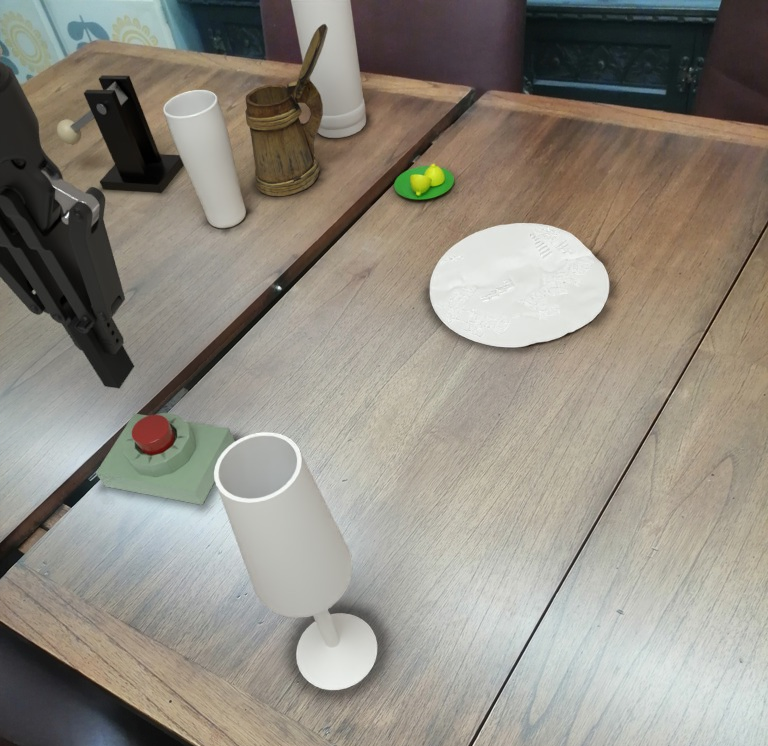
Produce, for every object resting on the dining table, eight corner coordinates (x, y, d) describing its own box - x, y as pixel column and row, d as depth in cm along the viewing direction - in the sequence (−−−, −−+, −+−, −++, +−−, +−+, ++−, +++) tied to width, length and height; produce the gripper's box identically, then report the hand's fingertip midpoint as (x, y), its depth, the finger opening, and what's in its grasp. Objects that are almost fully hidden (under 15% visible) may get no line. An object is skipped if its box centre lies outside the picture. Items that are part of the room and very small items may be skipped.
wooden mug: (351, 186, 95) (327, 39, 80) (255, 200, 96) (214, 57, 81) (349, 153, 100) (326, 8, 85) (257, 166, 101) (219, 26, 86)
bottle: (304, 133, 105) (251, -129, 80) (335, 108, 108) (293, -150, 84) (346, 143, 102) (303, -126, 77) (377, 118, 105) (345, -148, 80)
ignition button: (132, 452, 66) (124, 440, 65) (149, 424, 68) (142, 412, 67) (164, 457, 65) (157, 445, 64) (181, 429, 67) (175, 417, 66)
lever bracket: (102, 189, 102) (59, 98, 92) (128, 160, 107) (90, 69, 96) (161, 192, 100) (124, 99, 90) (185, 162, 104) (152, 70, 94)
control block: (105, 486, 69) (86, 461, 66) (142, 427, 73) (126, 400, 70) (202, 505, 66) (188, 480, 63) (235, 442, 70) (223, 415, 67)
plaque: (486, 215, 87) (486, 204, 85) (638, 261, 79) (641, 250, 78) (396, 315, 79) (395, 305, 78) (555, 377, 71) (556, 367, 70)
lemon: (444, 206, 90) (443, 185, 87) (386, 201, 92) (384, 181, 90) (460, 172, 94) (460, 151, 91) (405, 168, 96) (403, 148, 94)
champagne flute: (387, 674, 54) (334, 495, 35) (305, 701, 54) (204, 535, 34) (365, 602, 58) (305, 404, 39) (288, 627, 58) (188, 439, 38)
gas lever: (66, 152, 102) (48, 132, 100) (77, 140, 104) (60, 120, 102) (121, 110, 94) (103, 88, 92) (132, 99, 95) (114, 76, 93)
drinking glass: (198, 214, 95) (156, 100, 83) (244, 198, 96) (209, 83, 84) (210, 239, 92) (168, 123, 79) (258, 222, 93) (224, 105, 80)
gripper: (-184, 111, 40) (33, 398, 59) (-3, 115, 37) (165, 418, 56) (-100, 52, 44) (78, 339, 63) (71, 51, 41) (204, 354, 60)
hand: (119, 376), depth 59 cm, fingers closed
